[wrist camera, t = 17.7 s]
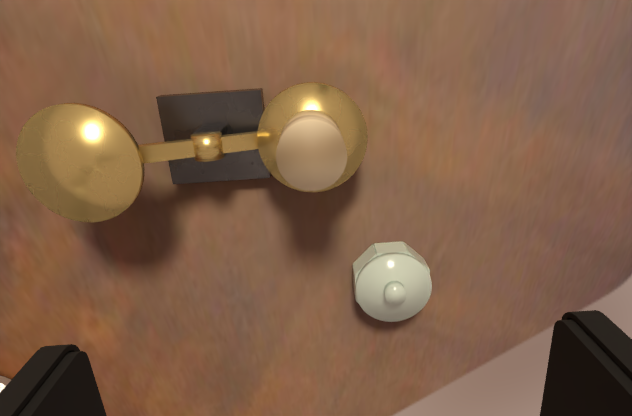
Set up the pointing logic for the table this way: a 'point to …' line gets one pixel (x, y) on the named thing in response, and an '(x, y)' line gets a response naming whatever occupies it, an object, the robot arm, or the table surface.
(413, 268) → the lid
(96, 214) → the balance
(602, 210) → the table surface
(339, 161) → the beige cylinder
